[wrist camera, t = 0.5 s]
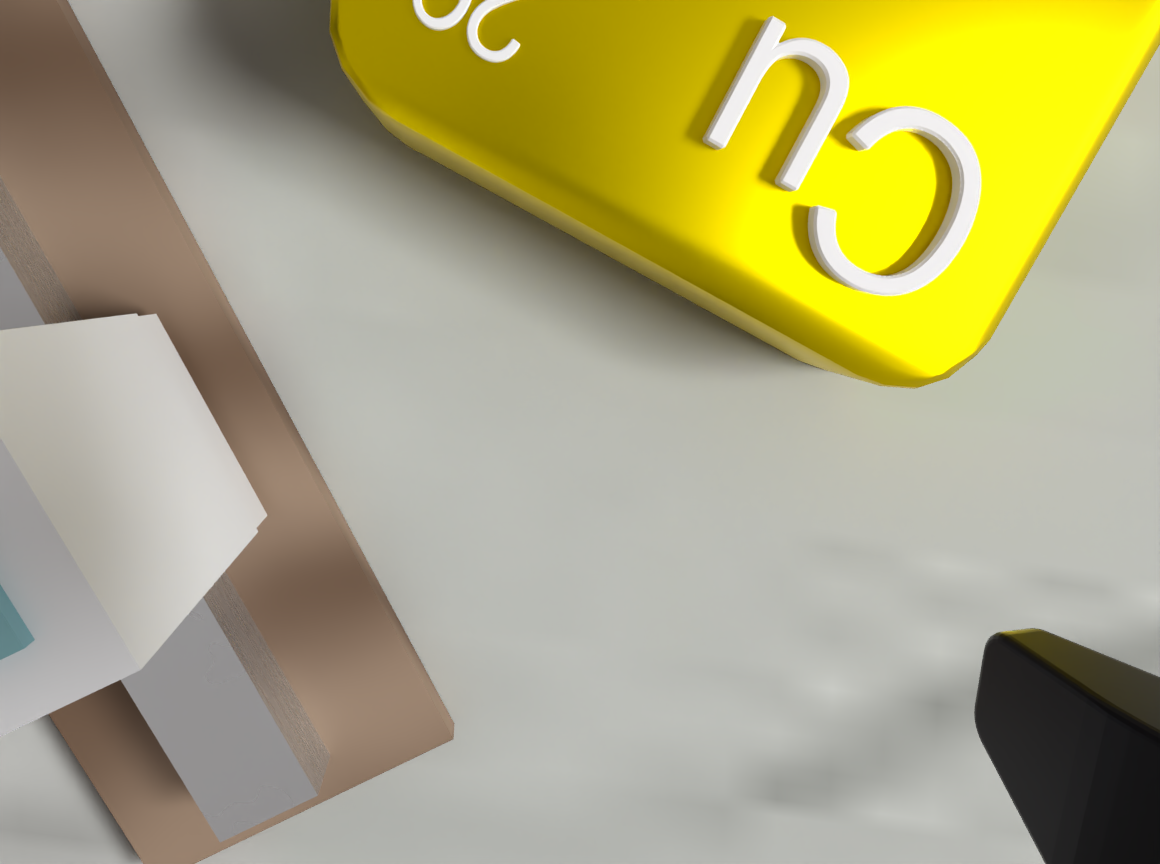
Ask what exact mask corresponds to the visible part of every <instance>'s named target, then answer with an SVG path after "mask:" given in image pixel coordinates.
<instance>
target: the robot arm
mask: <svg viewBox="0 0 1160 864" xmlns="http://www.w3.org/2000/svg"><path fill="white" fill-rule="evenodd" d="M974 714H975V723H976V728H977V731H978V734H979V737H980V739H981V742H982V744H983V745H984V747H985V749H986V751H987V753H988V755H989V757H990V759H991V761H992V763H993V765H994V766H995V768H996V770H997V772H998V774H999V776H1000V778H1001V780H1002V782H1003V784H1004V786H1005V787H1006V789H1007V791H1008V793H1009V795H1010V797H1011V799H1012V801H1013V803H1014V805H1015V807H1016V808H1017V810H1018V812H1019V814H1020V816H1021V818H1022V820H1023V822H1024V824H1025V826H1026V828H1027V830H1028V831H1029V833H1030V835H1031V837H1032V839H1033V841H1034V843H1035V845H1036V847H1037V849H1038V851H1039V852H1040V854H1041V856H1042V858H1043V860H1044V862H1045V864H1160V677H1158V676H1156V675H1153V674H1151V673H1148V672H1146V671H1143V670H1141V669H1138V668H1136V667H1133V666H1131V665H1128V664H1126V663H1124V662H1121V661H1119V660H1116V659H1114V658H1111V657H1109V656H1106V655H1104V654H1101V653H1099V652H1096V651H1094V650H1091V649H1089V648H1086V647H1084V646H1081V645H1079V644H1077V643H1074V642H1072V641H1069V640H1067V639H1064V638H1062V637H1059V636H1057V635H1054V634H1052V633H1049V632H1047V631H1044V630H1041V629H1035V628H1030V629H1021V630H1013V631H1005V632H998V633H996V634H994V635H992V636H991V637H990V638H989V640H988V641H987V643H986V645H985V649H984V654H983V660H982V666H981V672H980V678H979V684H978V690H977V696H976V702H975V712H974Z"/></svg>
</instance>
